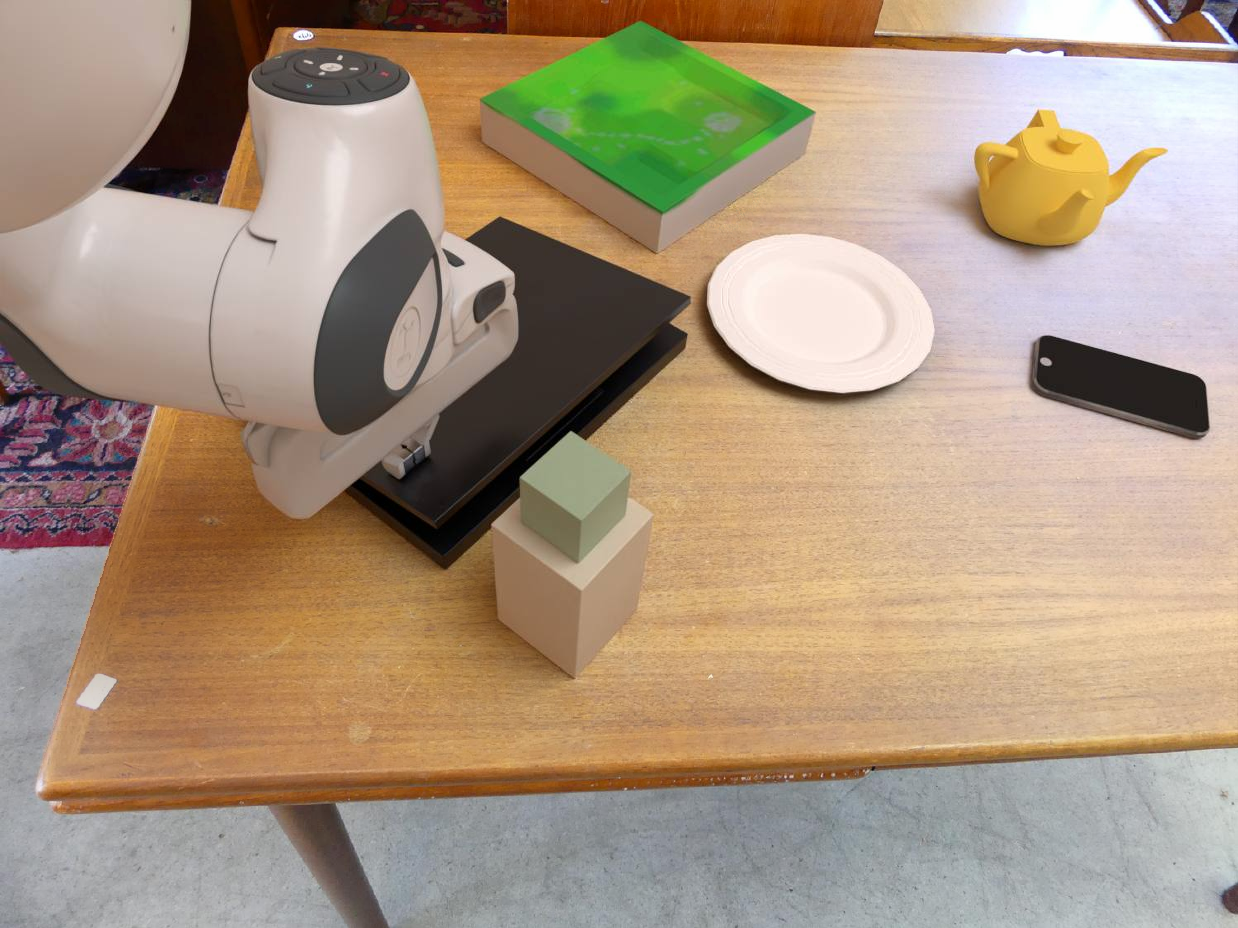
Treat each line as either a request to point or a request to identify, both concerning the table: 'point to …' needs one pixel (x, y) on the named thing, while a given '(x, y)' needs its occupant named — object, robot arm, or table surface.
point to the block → (574, 496)
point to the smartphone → (1121, 386)
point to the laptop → (522, 458)
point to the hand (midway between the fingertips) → (407, 462)
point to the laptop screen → (533, 365)
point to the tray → (646, 132)
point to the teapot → (1050, 182)
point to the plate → (820, 313)
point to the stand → (569, 586)
